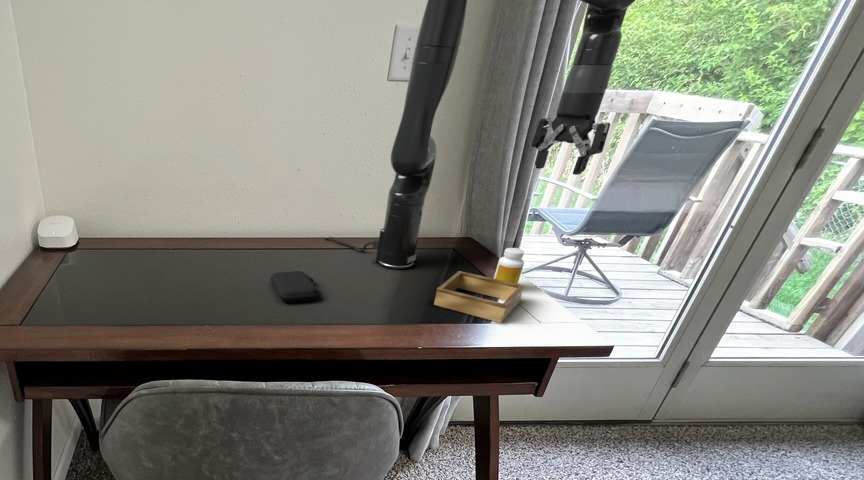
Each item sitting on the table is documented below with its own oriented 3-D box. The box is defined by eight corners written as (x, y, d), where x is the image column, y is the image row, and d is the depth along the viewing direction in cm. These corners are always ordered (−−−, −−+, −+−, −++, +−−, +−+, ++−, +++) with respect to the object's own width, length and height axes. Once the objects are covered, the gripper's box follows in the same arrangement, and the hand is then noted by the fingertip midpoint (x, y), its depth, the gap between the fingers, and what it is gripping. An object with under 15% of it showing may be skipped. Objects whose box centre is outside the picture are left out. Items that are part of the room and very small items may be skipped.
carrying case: (324, 301, 114) (308, 278, 127) (325, 290, 113) (308, 267, 125) (281, 305, 113) (268, 281, 126) (281, 293, 112) (269, 270, 124)
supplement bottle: (518, 293, 115) (531, 254, 109) (494, 292, 116) (505, 253, 110) (511, 284, 119) (523, 246, 114) (488, 283, 120) (499, 246, 115)
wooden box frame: (433, 304, 111) (436, 288, 109) (455, 286, 119) (459, 270, 117) (501, 323, 102) (506, 306, 100) (519, 301, 111) (525, 285, 109)
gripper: (540, 89, 104) (517, 168, 112) (610, 91, 93) (579, 178, 102) (561, 88, 107) (538, 164, 115) (631, 89, 96) (600, 174, 104)
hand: (557, 171), depth 108 cm, fingers open, 8 cm apart
